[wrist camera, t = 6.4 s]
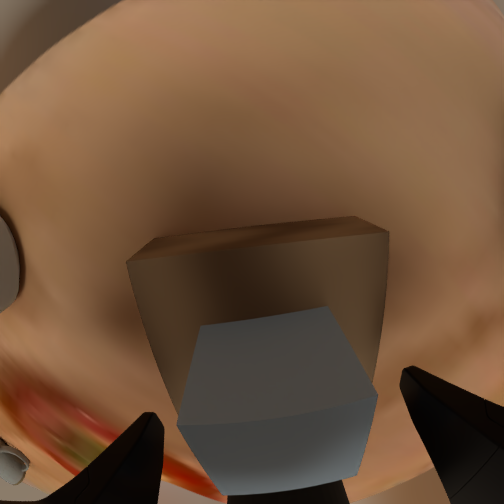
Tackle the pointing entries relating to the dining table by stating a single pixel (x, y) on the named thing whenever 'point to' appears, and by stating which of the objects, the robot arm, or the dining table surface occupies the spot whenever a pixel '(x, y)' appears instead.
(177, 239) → the walnut block
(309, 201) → the dining table surface
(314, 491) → the pen holder
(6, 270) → the can
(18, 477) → the ceramic mug
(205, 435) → the cube
